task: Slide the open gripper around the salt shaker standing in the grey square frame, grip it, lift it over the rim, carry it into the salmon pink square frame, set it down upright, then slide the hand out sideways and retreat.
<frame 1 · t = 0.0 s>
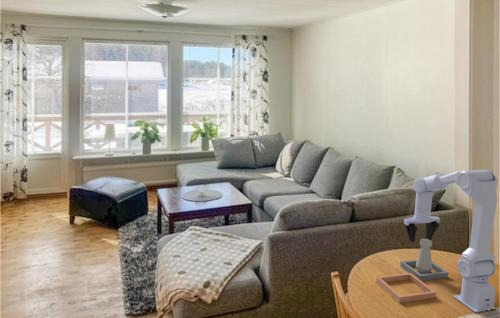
hand: (420, 240, 150), 10 cm above the table, tool pointing down, fingers open, 7 cm apart
salmon pink square frame: (404, 289, 133), on the table
salt shaker: (423, 272, 146), resting in grey square frame
grey square frame: (423, 271, 146), on the table
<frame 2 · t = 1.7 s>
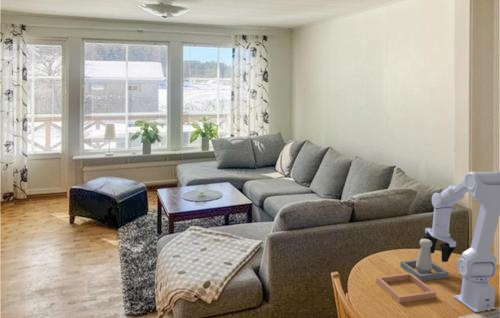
hand: (437, 257, 146), 5 cm above the table, tool pointing down, fingers open, 7 cm apart
nothing on the table moved.
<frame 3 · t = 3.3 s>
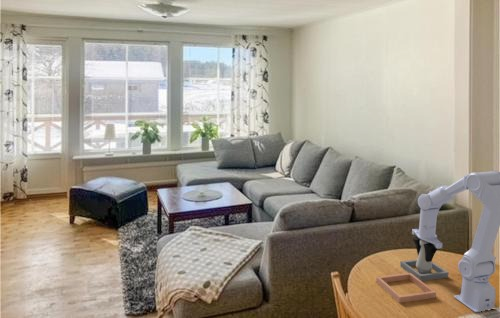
hand: (424, 258, 145), 5 cm above the table, tool pointing down, fingers closed on salt shaker, 4 cm apart
salt shaker: (423, 272, 146), resting in grey square frame, touching gripper
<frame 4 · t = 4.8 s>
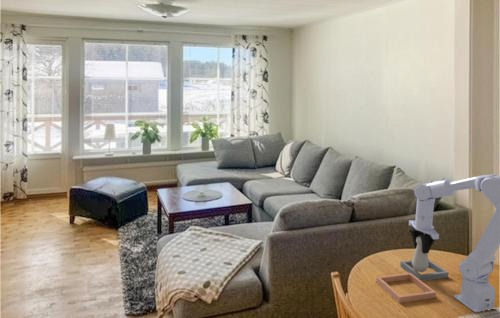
hand: (421, 250, 141), 10 cm above the table, tool pointing down, fingers closed on salt shaker, 4 cm apart
salt shaker: (419, 269, 142), point 2 cm above the table, touching gripper
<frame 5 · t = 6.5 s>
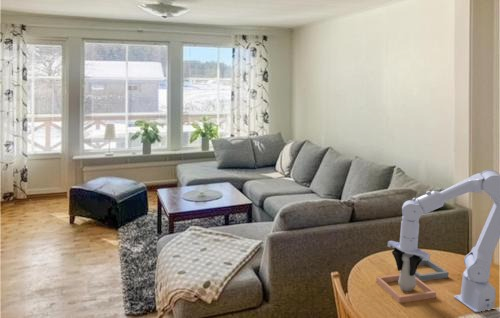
hand: (406, 272, 132), 7 cm above the table, tool pointing down, fingers closed on salt shaker, 4 cm apart
salt shaker: (406, 289, 134), resting in salmon pink square frame, touching gripper
when the fingers open (6 cm above the table, at t = 6.9 s): salt shaker stays where it is, resting in salmon pink square frame.
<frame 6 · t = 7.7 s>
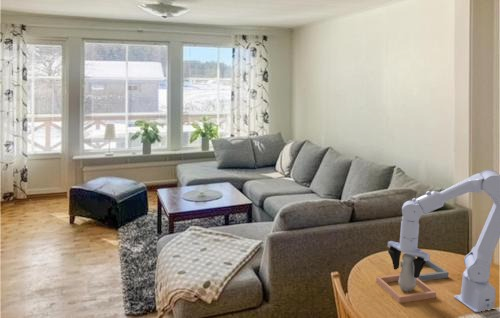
hand: (406, 272, 132), 6 cm above the table, tool pointing down, fingers open, 7 cm apart
salt shaker: (406, 289, 134), resting in salmon pink square frame
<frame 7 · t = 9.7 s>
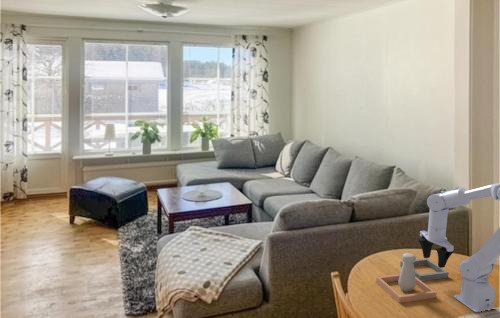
hand: (433, 262, 136), 8 cm above the table, tool pointing down, fingers open, 7 cm apart
nothing on the table moved.
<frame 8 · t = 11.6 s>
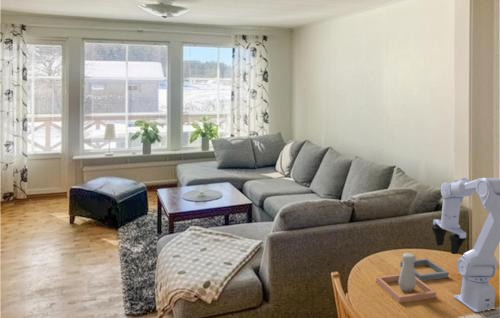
hand: (446, 249, 141), 10 cm above the table, tool pointing down, fingers open, 7 cm apart
nothing on the table moved.
at the end: salt shaker inside the target area on the salmon pink square frame (0.8 cm from its centre), point 0.0 cm above the salmon pink square frame's base; salt shaker tilted 0°; the gripper is holding nothing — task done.
